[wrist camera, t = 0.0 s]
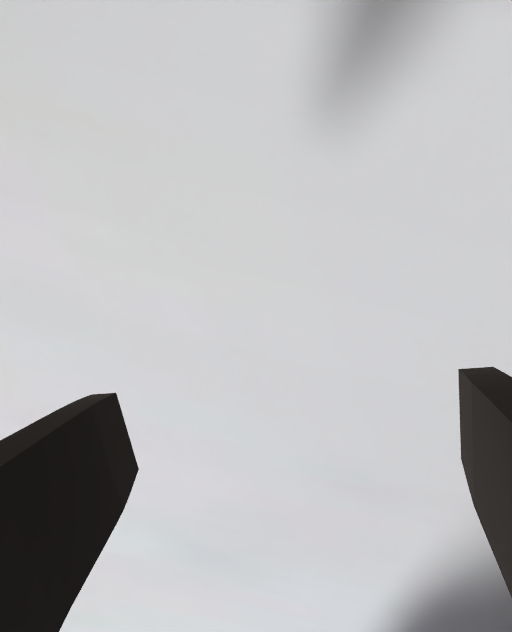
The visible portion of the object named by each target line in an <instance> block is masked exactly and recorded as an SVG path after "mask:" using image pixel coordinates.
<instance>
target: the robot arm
mask: <svg viewBox="0 0 512 632" xmlns="http://www.w3.org/2000/svg"><path fill="white" fill-rule="evenodd" d="M459 400H460V434H461V460H462V463H463V467H464V471H465V475H466V479H467V483H468V486H469V490H470V493H471V497H472V500H473V504H474V507H475V509H476V512H477V514H478V517H479V519H480V522H481V524H482V527H483V529H484V532H485V534H486V537H487V539H488V541H489V544H490V546H491V549H492V551H493V553H494V556H495V558H496V561H497V563H498V565H499V568H500V570H501V573H502V575H503V578H504V580H505V582H506V585H507V587H508V590H509V592H510V594H511V597H512V377H510V376H509V375H507V374H505V373H504V372H502V371H500V370H498V369H496V368H494V367H484V368H470V369H459ZM137 472H138V465H137V462H136V459H135V455H134V452H133V449H132V445H131V442H130V438H129V435H128V432H127V428H126V425H125V422H124V418H123V415H122V411H121V408H120V405H119V401H118V398H117V395H116V393H109V394H94V395H89V396H87V397H84V398H81V399H79V400H77V401H75V402H73V403H70V404H68V405H66V406H64V407H62V408H60V409H58V410H56V411H55V412H53V413H51V414H49V415H47V416H45V417H43V418H41V419H39V420H38V421H36V422H34V423H32V424H30V425H28V426H27V427H25V428H23V429H21V430H19V431H17V432H15V433H14V434H12V435H10V436H8V437H6V438H4V439H3V440H1V441H0V632H59V630H60V628H61V626H62V624H63V622H64V620H65V618H66V616H67V614H68V612H69V610H70V608H71V606H72V604H73V603H74V601H75V599H76V597H77V595H78V593H79V592H80V590H81V588H82V586H83V584H84V583H85V581H86V579H87V577H88V575H89V573H90V572H91V570H92V568H93V566H94V564H95V562H96V561H97V559H98V557H99V555H100V553H101V551H102V550H103V548H104V546H105V544H106V542H107V540H108V539H109V537H110V535H111V533H112V531H113V529H114V527H115V525H116V524H117V522H118V520H119V518H120V516H121V514H122V512H123V510H124V507H125V505H126V502H127V500H128V497H129V495H130V492H131V490H132V487H133V484H134V481H135V478H136V475H137Z"/></svg>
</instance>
